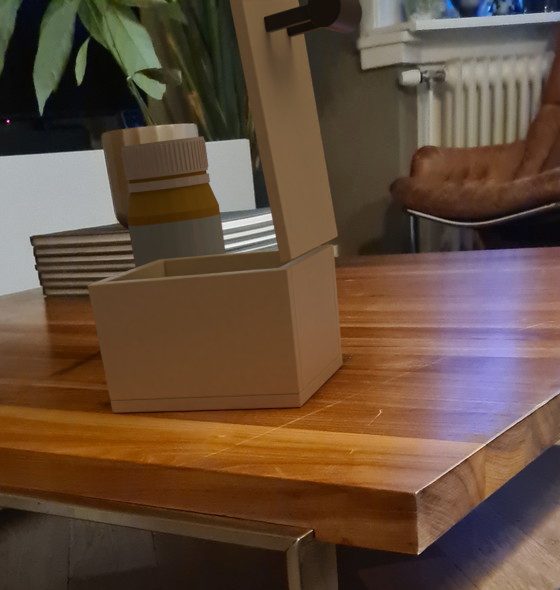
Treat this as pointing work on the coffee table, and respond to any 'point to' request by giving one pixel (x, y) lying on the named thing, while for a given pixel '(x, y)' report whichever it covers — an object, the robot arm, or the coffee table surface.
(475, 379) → the coffee table surface
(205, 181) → the bottle
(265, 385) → the tan open box
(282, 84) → the lid
